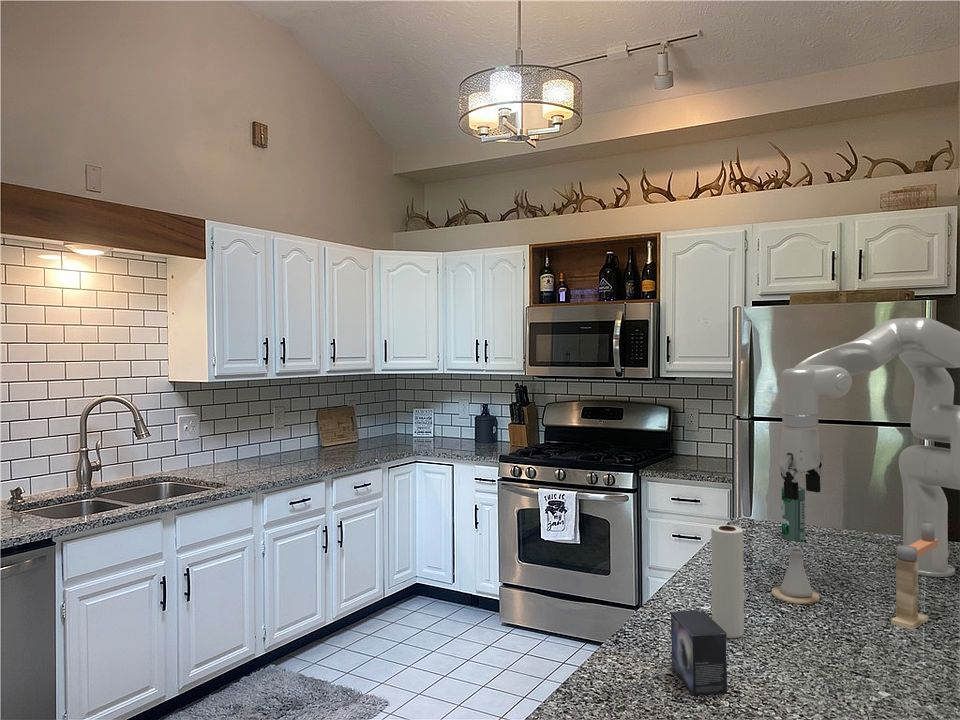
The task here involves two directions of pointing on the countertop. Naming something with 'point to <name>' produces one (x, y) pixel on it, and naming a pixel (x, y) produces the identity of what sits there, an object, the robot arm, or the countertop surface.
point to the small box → (699, 652)
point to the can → (793, 517)
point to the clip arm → (919, 544)
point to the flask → (796, 576)
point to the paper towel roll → (728, 579)
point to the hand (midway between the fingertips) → (802, 495)
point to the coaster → (793, 599)
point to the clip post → (907, 596)
